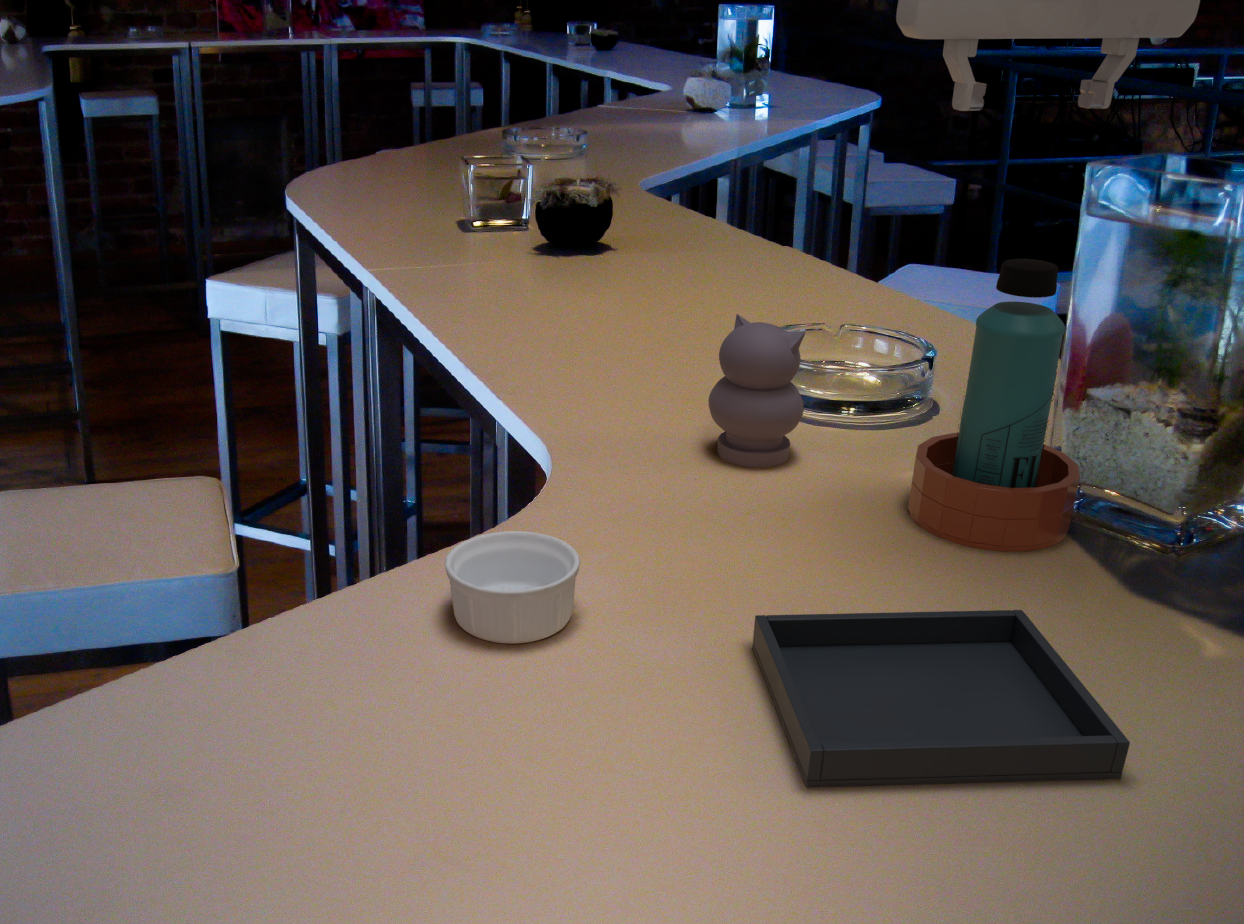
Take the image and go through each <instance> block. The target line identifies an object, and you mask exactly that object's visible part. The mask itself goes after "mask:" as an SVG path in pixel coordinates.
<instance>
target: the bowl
mask: <svg viewBox="0 0 1244 924" xmlns="http://www.w3.org/2000/svg"><path fill="white" fill-rule="evenodd" d="M957 435H958V436H959V432H958V433H957V432H951V433H945V434H941V435H935V436H932V437H930V438H928V439H925V441H923V442H921V443H920V444H918V445H917V449H916V453H915V458H914V459H915V460H914V465H913V466H914V467H913V473H912V479H911V487H910V493H909V500H908V506H907V507H908V514H909V516H910V517H911V519H912V520H913V521H914V522H915V524H917V526H919V527H921V528H922V529H923V530H925V531H926V532H928V533H930V534H932V535H934V536H936V537H939V539H940V538H941V539H943V540H945V541H949V542H951V543H955V544H957V545H961V546H964V547H965V546H966V547H970V548H974V549H980V550H985V551H986V550H987V551H993V552H995V551H996V552H1017V553H1018V552H1032V551H1037V550H1042V549H1047V548H1050V547H1054V546H1055V545H1057V544H1058V543H1060V542H1062V541H1063V540H1064V539H1065V537H1067V536H1066V535H1067V533H1068V531H1069V530H1070V525H1071V521H1072V516H1073V512H1074V507H1075V502H1076V499H1077V498H1076V497H1077V491H1078V489H1079V483H1080V480H1081V479H1080V477H1081V476H1080V465H1079V464H1078V463H1076V462H1075V460H1073V458H1071V457H1070V456H1068V454H1066V453H1064V452H1063V451H1061V450H1058V449H1056V448H1053V447H1051V446H1049V445H1047V444H1045V443H1044V448H1043V451H1044V452H1043V451H1042V454H1041V460H1040V465H1039V470H1038V476H1039V472H1040V470H1041V472H1040V477H1039V478H1037V481H1038V479H1039V482H1037V481H1036V482H1037V483H1036V484H1038V486H1036V487H1035V488H1008V487H1001V486H993V485H986V484H979V483H976V482H972V481H969V480H965V479H962V478H958V477H955V476H953V475H952V474H953V470H954V468H953V467H954V464H953V466H952V463H954V460H955V457H956V448H957V442H958V437H957ZM956 437H957V438H956ZM956 440H957V441H956ZM955 444H956V445H955ZM955 446H956V448H955ZM1043 454H1044V456H1043ZM953 455H955V456H953ZM953 457H954V459H953ZM1042 458H1043V461H1042ZM1041 463H1042V464H1041ZM1041 465H1042V466H1041ZM1040 467H1041V469H1040ZM952 468H953V469H952ZM951 471H952V473H951Z"/></svg>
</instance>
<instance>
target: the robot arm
mask: <svg viewBox="0 0 1244 924" xmlns="http://www.w3.org/2000/svg"><path fill="white" fill-rule="evenodd" d="M897 1H898V2H897V8H896V15H895V21H896V24H897V26H898V28H899V29H900V31H901V33H902V34H903V35H904V37H907V38H911V39H919V40H944V43H943V50H942V57H943V59H944V62H945V64H946V66H947V67H946V68H947V69H948V72H949V74H950V77H951V79H952V81H953V82H954V84H953V85H954V86H953V92H952V93H953V94H952V99H951V106H952V109H953V110H956V111H959V112H971V111H972V112H973V111H981V110H983V107H984V105H985V99H984V98H983V97H984V96H985V95H986V92H987V85H988V84H987V83H983V82H979V81H976V79H975V76H974V74H973V71H972V67H971V64H970V61H969V58H975V57H976V56H977V52H978V51H977V50H978V46H979V45H978V44H979V40H1004V39H1005V40H1008V39H1009V40H1012V39H1013V40H1017V39H1018V40H1020V39H1024V40H1025V39H1032V40H1033V39H1035V40H1037V39H1102V42H1101V47H1100V53H1101V54H1105V55H1106V56H1105V58H1104V59H1103V61H1102V63H1100V66H1099V67H1098V69H1097V70H1096V72H1095V73H1094V75H1093V77H1092V78H1091V79H1081V81H1080V87H1079V92H1080V94H1078V97H1077V105H1078V107H1079V108H1083V109H1088V110H1089V109H1090V110H1091V109H1093V110H1094V109H1096V110H1099V109H1101V110H1102V109H1103V110H1104V109H1108V108H1110V106H1111V103H1112V98H1113V94H1114V89H1115V83H1117V82H1118V81H1119V79H1120V78H1121V77H1122V75H1123V74H1124V72H1126V70H1127V68H1129V66H1130V65H1131V63H1132V62H1133V60H1134V59H1135V58H1136V56H1137V51H1138V47H1139V42H1140V39H1155V38H1156V39H1159V38H1160V39H1161V38H1162V39H1163V38H1164V39H1167V38H1169V39H1170V38H1172V39H1173V38H1174V39H1175V38H1180V37H1182V36H1183V35H1184V34H1185V32H1187V30H1188V29H1189V28H1190V27H1191V26H1192V24H1193V23H1194V22H1195V20H1196V18H1197V16H1198V11H1199V8H1200V4H1201V0H897Z"/></svg>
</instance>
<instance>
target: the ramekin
mask: <svg viewBox="0 0 1244 924" xmlns="http://www.w3.org/2000/svg"><path fill="white" fill-rule="evenodd" d="M580 564H581V559H580V556H579V553H578V552H577V550H576V549H575V548H574V547H573V546H571V545H570V543H568V542H566V541H565V540H562V539H560V538H558V537H555V536H552V535H549V534H546V533H545V534H544V533H541V532H535V531H524V530H522V531H521V530H519V531H518V530H510V531H508V530H506V531H498V532H497V531H496V532H490V533H485V534H481V535H477V536H475V537H471V538H469V539H467V540H464V541H462V542H460V543H459V544H457V545H456V546H454V547H453V548H451V550H450V551H449V552H448V554H447V556H446V557H445V561H444V567H445V569H444V570H445V573H446V576H447V578H448V580H449V586H450V594H451V601H452V609H453V614H454V618H455V620H456V622H457V624H458V625H459V626H460V628H462V629H463V630H464V631H465V632H467V634H469V635H472V636H473V637H476V638H478V639H480V640H484V641H487V642H491V643H498V644H512V645H513V644H526V643H532V642H536V641H541V640H543V639H545V638H549V637H551V636H553V635H555V634H556V633H558V632H559V631H561V630H562V629H563V628H564V627H565V626H566V625H567V624H568V623H569V621H570V619H571V617H572V614H573V608H574V601H575V590H576V580H577V576H578V574H579V570H580Z"/></svg>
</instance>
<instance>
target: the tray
mask: <svg viewBox="0 0 1244 924" xmlns="http://www.w3.org/2000/svg"><path fill="white" fill-rule="evenodd" d="M751 649H752V652H753V654H754V657H755V659H756V662H757V664H758V667H759V669H760V672H761V675H762V677H763V679H764V682H765V685H766V687H767V691H768V692H769V695H770V697H771V700H772V703H773V705H774V708H775V711H776V714H777V716H778V718H779V720H780V723H781V726H782V729H783V732H784V734H785V736H786V738H787V741H788V744H789V746H790V749H791V752H792V755H793V757H794V760H795V762H796V765H797V767H798V769H799V772H800V775H801V777H802V780H803V782H804V785H805V787H806V788H807V789H811V788H843V787H845V788H850V787H882V786H883V787H885V786H917V785H919V786H921V785H950V784H951V785H952V784H953V785H955V784H985V783H991V784H992V783H1020V782H1023V783H1025V782H1026V783H1027V782H1056V781H1058V782H1059V781H1092V780H1093V781H1094V780H1121V779H1122V778H1123V777H1122V776H1123V772H1124V767H1125V764H1126V761H1127V756H1128V753H1129V752H1128V751H1129V748H1130V744H1131V742H1130V740H1129V739H1128V738H1127V736H1126V735H1125V734H1124V733H1123V732H1122V730H1121V729H1120V728H1119V727H1118V726H1117V725H1116V723H1115V722H1114V721H1113V719H1112V718H1111V717H1110V716H1109V714H1108V713H1107V712H1106V711H1105V709H1104V708H1103V707H1102V705H1100V703H1099V702H1098V701H1097V700H1096V698H1095V697H1094V696H1093V694H1091V693H1090V691H1089V690H1088V689H1087V687H1086V686H1085V685H1084V684H1083V683H1082V681H1081V680H1080V679H1079V678H1078V676H1077V675H1076V674H1075V673H1074V672H1073V671H1072V669H1071V668H1070V666H1068V664H1067V663H1066V662H1065V660H1064V659H1063V658H1062V657H1061V656H1060V654H1059V653H1058V651H1056V649H1055V648H1054V647H1053V646H1052V644H1050V642H1049V641H1048V639H1047V638H1046V637H1045V635H1044V634H1042V632H1041V631H1040V630H1039V629H1038V627H1037V626H1036V625H1035V624H1034V622H1033V621H1032V620H1031V619H1030V617H1028V615H1027V614H1026V613H1025V611H1024V610H1022V609H1012V610H1011V609H1001V610H1000V609H999V610H998V609H997V610H995V609H993V610H951V611H949V610H948V611H947V610H946V611H945V610H944V611H903V612H901V611H900V612H855V613H854V612H852V613H849V612H848V613H808V614H807V613H805V614H804V613H803V614H767V615H765V614H758V615H757V614H756V615H755V616H754V625H753V636H752V647H751Z"/></svg>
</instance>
